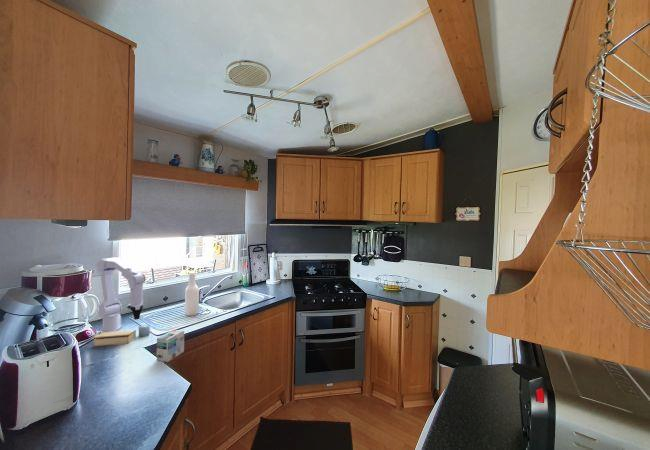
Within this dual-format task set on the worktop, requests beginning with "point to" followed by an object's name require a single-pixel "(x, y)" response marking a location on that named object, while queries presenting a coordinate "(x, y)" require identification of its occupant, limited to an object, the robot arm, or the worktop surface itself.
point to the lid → (114, 333)
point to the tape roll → (144, 330)
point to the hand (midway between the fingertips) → (136, 319)
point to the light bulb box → (170, 345)
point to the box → (114, 340)
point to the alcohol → (191, 296)
